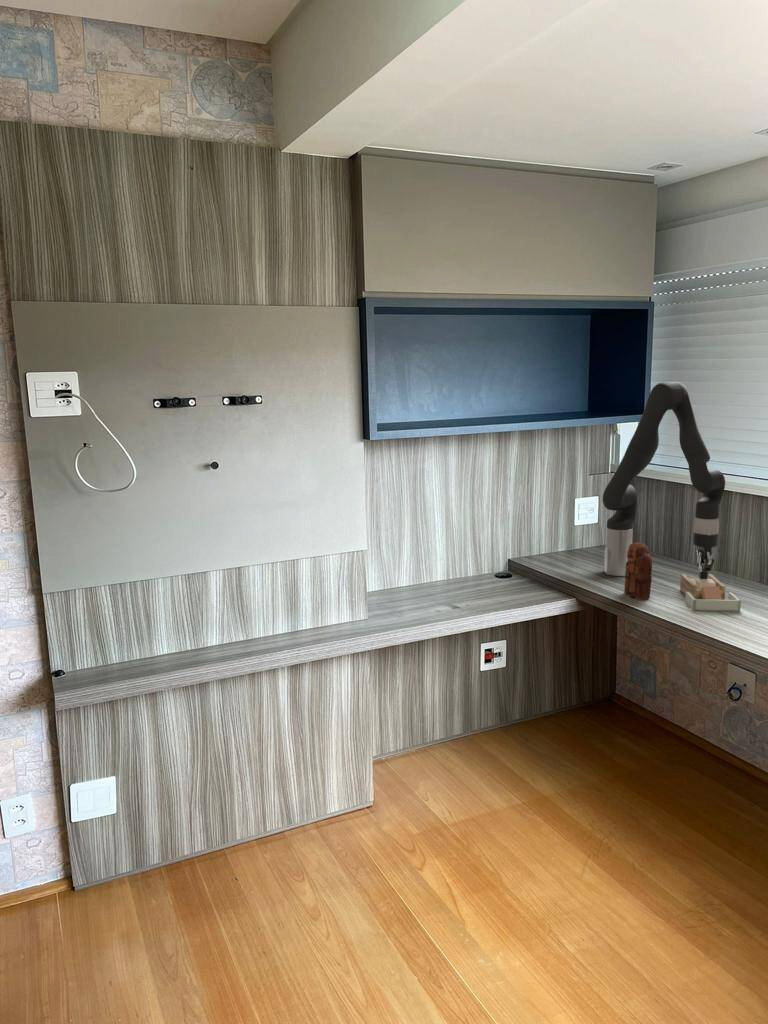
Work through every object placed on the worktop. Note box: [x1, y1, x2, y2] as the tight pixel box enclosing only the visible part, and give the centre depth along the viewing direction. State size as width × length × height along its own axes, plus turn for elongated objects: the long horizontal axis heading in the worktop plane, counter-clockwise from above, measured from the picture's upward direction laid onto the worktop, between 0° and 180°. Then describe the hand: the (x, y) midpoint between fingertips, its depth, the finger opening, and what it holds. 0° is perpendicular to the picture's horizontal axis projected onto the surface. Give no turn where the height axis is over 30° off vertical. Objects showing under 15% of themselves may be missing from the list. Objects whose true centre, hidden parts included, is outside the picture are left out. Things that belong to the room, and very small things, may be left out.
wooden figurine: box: [623, 541, 653, 601], centre depth 256 cm, size 12×6×18 cm, turn 14°
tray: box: [685, 592, 742, 612], centre depth 243 cm, size 14×9×4 cm, turn 83°
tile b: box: [701, 587, 722, 600], centre depth 245 cm, size 5×5×2 cm
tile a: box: [695, 578, 716, 590], centre depth 250 cm, size 5×5×2 cm
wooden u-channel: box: [679, 573, 726, 600], centre depth 255 cm, size 10×15×6 cm, turn 173°
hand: (703, 582), depth 254 cm, fingers closed
